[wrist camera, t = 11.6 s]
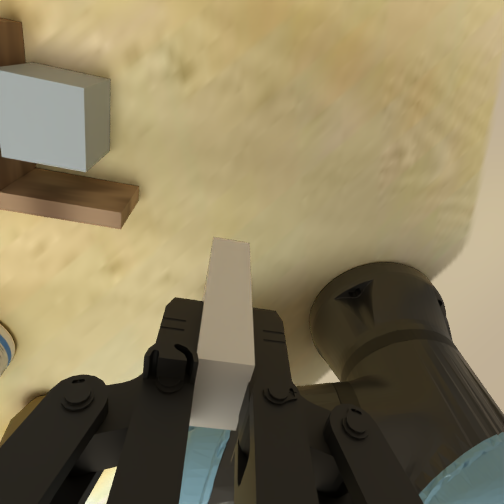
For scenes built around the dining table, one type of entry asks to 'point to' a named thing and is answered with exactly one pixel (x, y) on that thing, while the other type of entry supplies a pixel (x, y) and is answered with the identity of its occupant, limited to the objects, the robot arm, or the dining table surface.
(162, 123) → the dining table surface
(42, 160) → the grey block
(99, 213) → the corner fence
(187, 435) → the robot arm
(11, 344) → the supplement tub
